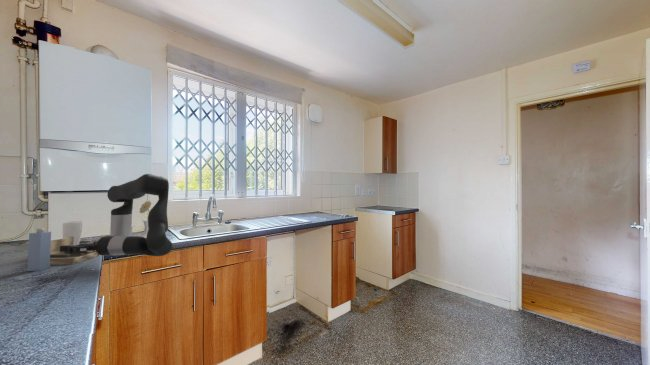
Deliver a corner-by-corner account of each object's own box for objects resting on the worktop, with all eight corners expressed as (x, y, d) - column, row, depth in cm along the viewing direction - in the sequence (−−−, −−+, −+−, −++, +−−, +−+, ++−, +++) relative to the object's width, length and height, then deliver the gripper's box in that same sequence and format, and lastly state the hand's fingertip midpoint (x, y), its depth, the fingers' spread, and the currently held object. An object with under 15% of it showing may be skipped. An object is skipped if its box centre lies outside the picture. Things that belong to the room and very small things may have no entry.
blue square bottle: (38, 267, 99) (40, 227, 100) (49, 267, 99) (51, 227, 100) (27, 271, 95) (29, 229, 96) (39, 270, 95) (41, 229, 96)
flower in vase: (133, 243, 146) (134, 200, 147) (156, 241, 154) (157, 200, 155) (135, 247, 137) (137, 200, 138) (160, 244, 144) (161, 200, 145)
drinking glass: (66, 251, 126) (67, 221, 126) (83, 250, 128) (85, 220, 129) (57, 254, 119) (59, 222, 120) (76, 253, 122) (77, 222, 122)
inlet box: (70, 256, 116) (71, 236, 117) (98, 255, 118) (99, 236, 118) (39, 265, 103) (40, 242, 103) (72, 264, 104) (73, 242, 104)
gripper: (127, 233, 108) (86, 233, 106) (102, 239, 94) (53, 239, 92) (127, 250, 107) (85, 251, 106) (101, 259, 93) (52, 260, 91)
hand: (70, 246), depth 99 cm, fingers open, 8 cm apart
